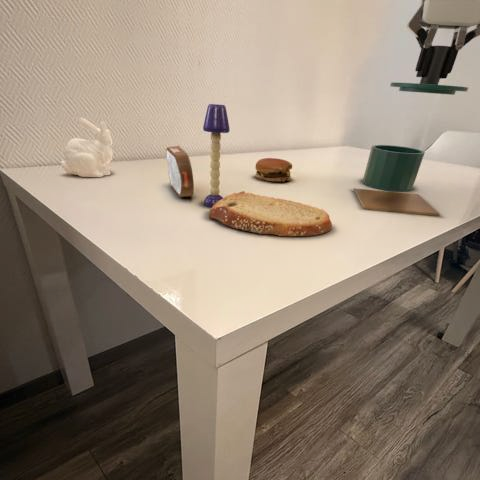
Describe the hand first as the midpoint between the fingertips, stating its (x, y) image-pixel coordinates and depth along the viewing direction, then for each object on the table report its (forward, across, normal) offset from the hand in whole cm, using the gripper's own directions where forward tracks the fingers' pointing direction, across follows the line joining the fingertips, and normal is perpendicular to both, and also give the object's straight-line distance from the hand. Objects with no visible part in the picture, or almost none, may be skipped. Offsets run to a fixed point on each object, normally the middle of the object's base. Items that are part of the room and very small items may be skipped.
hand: (431, 76), depth 61 cm
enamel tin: (+23, -2, -16) cm, 28 cm away
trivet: (+23, 0, +1) cm, 23 cm away
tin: (+23, +46, +9) cm, 53 cm away
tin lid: (+2, 0, 0) cm, 2 cm away
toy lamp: (+23, +37, +15) cm, 46 cm away
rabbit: (+23, +69, +1) cm, 73 cm away
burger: (+23, +28, -11) cm, 38 cm away
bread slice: (+23, +26, +22) cm, 41 cm away
